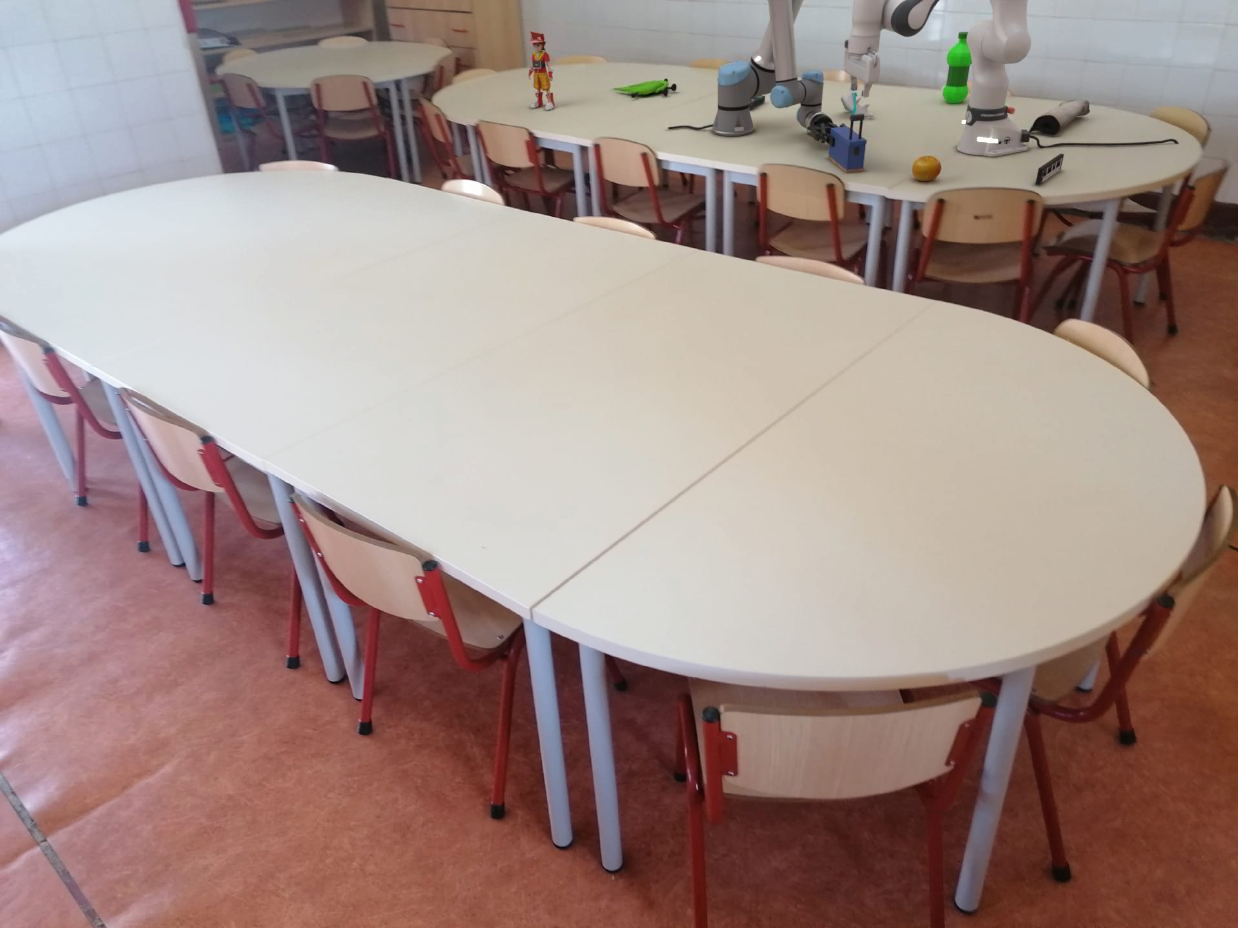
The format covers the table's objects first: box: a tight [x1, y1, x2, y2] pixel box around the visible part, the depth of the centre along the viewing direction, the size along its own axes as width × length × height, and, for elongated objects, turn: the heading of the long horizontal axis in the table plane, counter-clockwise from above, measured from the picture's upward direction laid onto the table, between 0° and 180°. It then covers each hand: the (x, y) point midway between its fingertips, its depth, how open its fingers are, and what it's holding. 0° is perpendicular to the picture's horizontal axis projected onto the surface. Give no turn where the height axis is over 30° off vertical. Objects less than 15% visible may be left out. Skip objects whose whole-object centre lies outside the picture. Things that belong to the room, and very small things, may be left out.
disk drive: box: [749, 95, 766, 111], centre depth 366 cm, size 10×3×15 cm
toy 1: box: [527, 31, 556, 111], centre depth 374 cm, size 12×9×30 cm
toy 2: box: [612, 78, 677, 99], centre depth 396 cm, size 28×5×30 cm
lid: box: [831, 114, 868, 145], centre depth 289 cm, size 17×6×9 cm, turn 9°
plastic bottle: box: [942, 31, 972, 104], centre depth 348 cm, size 10×10×25 cm
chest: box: [828, 132, 867, 174], centre depth 294 cm, size 17×6×9 cm, turn 9°
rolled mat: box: [1028, 99, 1091, 137], centre depth 319 cm, size 30×9×10 cm
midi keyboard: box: [1035, 153, 1065, 186], centre depth 273 cm, size 18×1×5 cm, turn 138°
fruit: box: [911, 155, 942, 182], centre depth 277 cm, size 8×8×8 cm
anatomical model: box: [840, 89, 875, 118], centre depth 344 cm, size 15×10×10 cm
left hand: (842, 141), depth 296 cm, fingers closed on chest, 6 cm apart
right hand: (859, 93), depth 278 cm, fingers open, 8 cm apart
